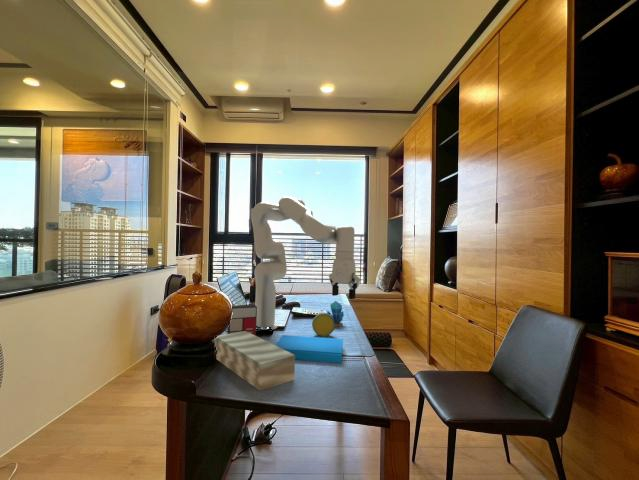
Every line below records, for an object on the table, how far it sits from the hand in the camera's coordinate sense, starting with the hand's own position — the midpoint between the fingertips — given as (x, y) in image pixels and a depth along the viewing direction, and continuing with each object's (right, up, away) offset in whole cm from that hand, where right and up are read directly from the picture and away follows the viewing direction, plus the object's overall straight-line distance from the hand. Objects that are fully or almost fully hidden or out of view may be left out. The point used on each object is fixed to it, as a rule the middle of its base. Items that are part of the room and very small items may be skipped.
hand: (343, 297), depth 132 cm
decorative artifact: (-9, -20, +13) cm, 25 cm away
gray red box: (-42, -18, -4) cm, 46 cm away
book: (-14, -20, -11) cm, 27 cm away
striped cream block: (-32, -18, -28) cm, 46 cm away
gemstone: (-2, -20, +30) cm, 36 cm away
